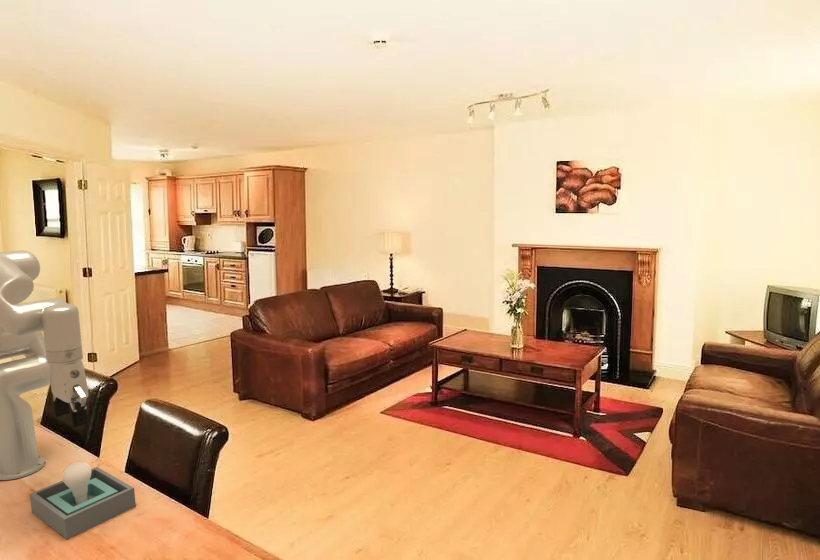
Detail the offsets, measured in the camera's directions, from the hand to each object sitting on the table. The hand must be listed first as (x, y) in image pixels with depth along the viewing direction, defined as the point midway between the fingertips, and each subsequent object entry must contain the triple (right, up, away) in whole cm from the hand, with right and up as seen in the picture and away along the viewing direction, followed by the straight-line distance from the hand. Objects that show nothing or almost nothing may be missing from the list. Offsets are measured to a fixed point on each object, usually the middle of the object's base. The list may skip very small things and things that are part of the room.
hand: (71, 420), depth 136 cm
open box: (+4, -22, -1) cm, 22 cm away
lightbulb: (+3, -21, 0) cm, 21 cm away
